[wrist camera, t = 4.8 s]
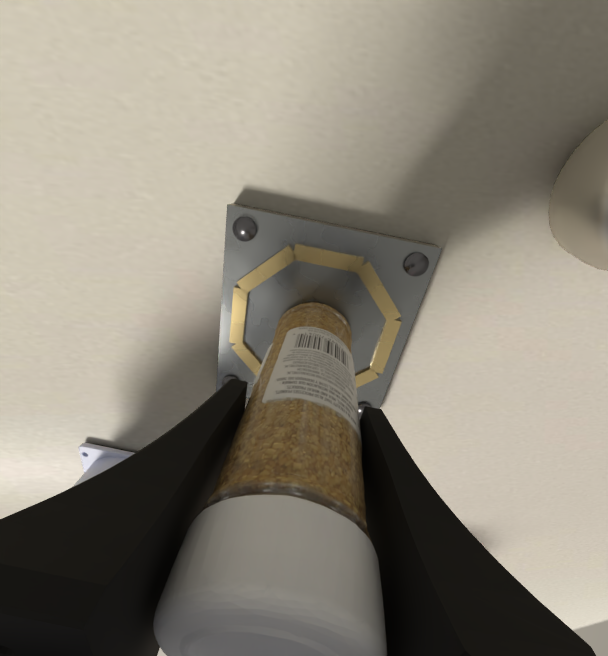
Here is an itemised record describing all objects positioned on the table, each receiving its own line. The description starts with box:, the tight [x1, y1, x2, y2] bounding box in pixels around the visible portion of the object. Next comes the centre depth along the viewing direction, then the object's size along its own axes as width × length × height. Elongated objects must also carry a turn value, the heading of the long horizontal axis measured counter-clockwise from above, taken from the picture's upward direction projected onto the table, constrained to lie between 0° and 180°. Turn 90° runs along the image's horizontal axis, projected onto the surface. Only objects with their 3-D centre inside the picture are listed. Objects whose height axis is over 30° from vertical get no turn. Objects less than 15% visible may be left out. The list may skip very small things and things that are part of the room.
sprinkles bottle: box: [153, 302, 387, 656], centre depth 11 cm, size 5×4×13 cm
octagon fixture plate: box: [216, 203, 442, 419], centre depth 18 cm, size 15×11×1 cm
